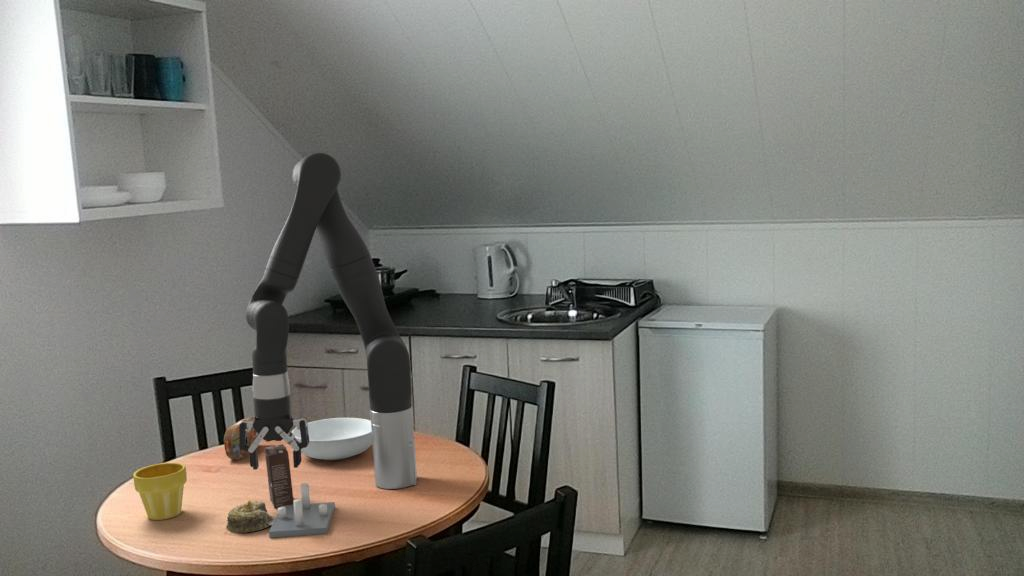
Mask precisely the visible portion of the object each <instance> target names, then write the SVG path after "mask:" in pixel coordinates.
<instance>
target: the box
mask: <svg viewBox="0 0 1024 576" xmlns="http://www.w3.org/2000/svg"><path fill="white" fill-rule="evenodd" d="M264 454H265V462H266V463H265V465H266V473H267V482H268V483H267V484H268V493H269V500H270V502H271V503H272V506H273V508H274V509H278V508H279V507H281V506H284V505H294V503H293V501H294V494H293V493H294V491H293V485H292V484H293V483H292V474H291V466H290V457H289V450H287V447H286V446H285V444H283V443H281V444H277V445H271V446H266V447H265V446H264Z"/></svg>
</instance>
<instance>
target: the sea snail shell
mask: <svg viewBox="0 0 1024 576" xmlns="http://www.w3.org/2000/svg"><path fill="white" fill-rule="evenodd" d="M266 506H267V505H266V503H265V502H263V501H258V500H254V501H251V499H249V500H248V501H247V502H245V503H243V504H240V505H239V504H238V505H237V506H235V507H233V508H231V510H230V511H229V512H228V514H227V515H228V516H227V518H226V519H227V520H226V522H227V525H225V527H226V528H225V529H226V530H227V531H228V532H230V533H232V534H236V535H237V534H245V533H246V534H248V533H253V532H257V531H261V530H264V529H266V528H268V527H270V526H272V524H273V522H274V520H275V518H276V516H275V515H272V514H270V513H268V508H266ZM268 521H269V522H268Z"/></svg>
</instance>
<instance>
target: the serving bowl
mask: <svg viewBox="0 0 1024 576" xmlns="http://www.w3.org/2000/svg"><path fill="white" fill-rule="evenodd" d="M307 425H308V434H309V444H308V446H307V447H306V448H302V449H301V454H303V455H304V456H306V457H309V458H312V459H318V460H324V461H339V460H344V459H348V458H351V457H354V456H357V455H359V454H362V453H364V452H366V451H367V450H368V449H369V448H370V447H371V446H373V445H372V430H371V419H367V418H360V417H334V418H333V417H331V418H324V419H318V420H313V421H310V422H307ZM291 432H292V433H293V434H294V435H295V437H296V439H297V440H298V441H299V442H301V434H300V430H298V429H297V427H296V426H295V427H294V429H292V431H291Z"/></svg>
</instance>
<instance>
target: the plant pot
mask: <svg viewBox="0 0 1024 576" xmlns="http://www.w3.org/2000/svg"><path fill="white" fill-rule="evenodd" d="M132 478H133V484H134V485H133V486H134V490H135V491H136V492H137V493H138V494H139V497H140V499H141V502H142V504H143V507H144V510H145V513H146V516H147V518H148V519H149V520H153V521H162V520H168V519H169V520H170V519H171V518H174V517H177V516H179V515H180V514H181V513H182V509H183V507H182V505H183V499H184V498H183V496H184V487H185V484H186V483H187V481H188V479H187V468H186V465H185V464H183V463H181V462H172V461H171V462H162V463H156V464H152V465H151V464H150V465H148V466H144V467H141V468H139V469H137V470H136V471H134V473H133V475H132Z"/></svg>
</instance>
